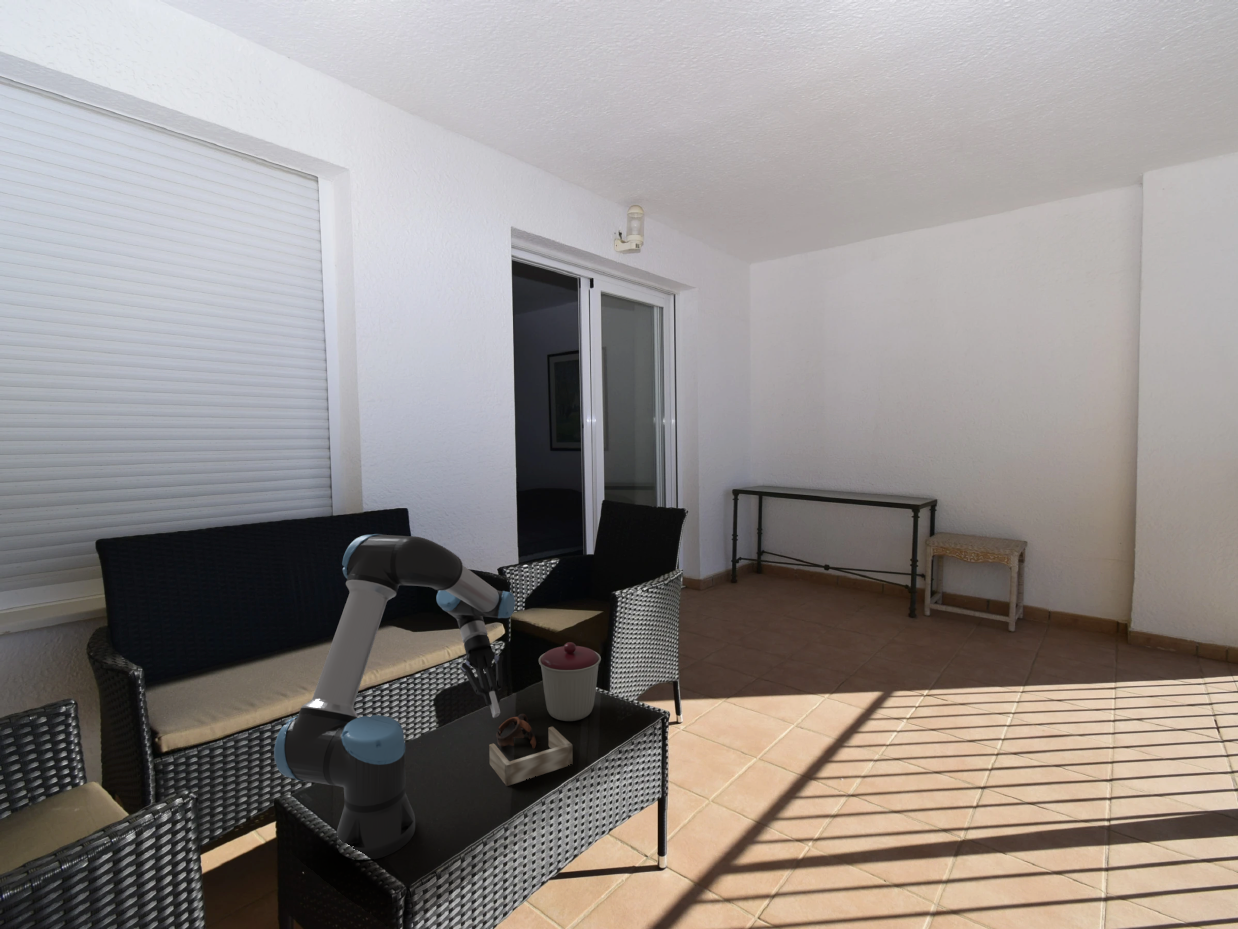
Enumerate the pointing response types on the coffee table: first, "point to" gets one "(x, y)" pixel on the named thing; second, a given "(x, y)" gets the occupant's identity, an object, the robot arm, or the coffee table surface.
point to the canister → (569, 681)
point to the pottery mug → (516, 731)
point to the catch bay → (533, 760)
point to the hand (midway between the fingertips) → (496, 715)
